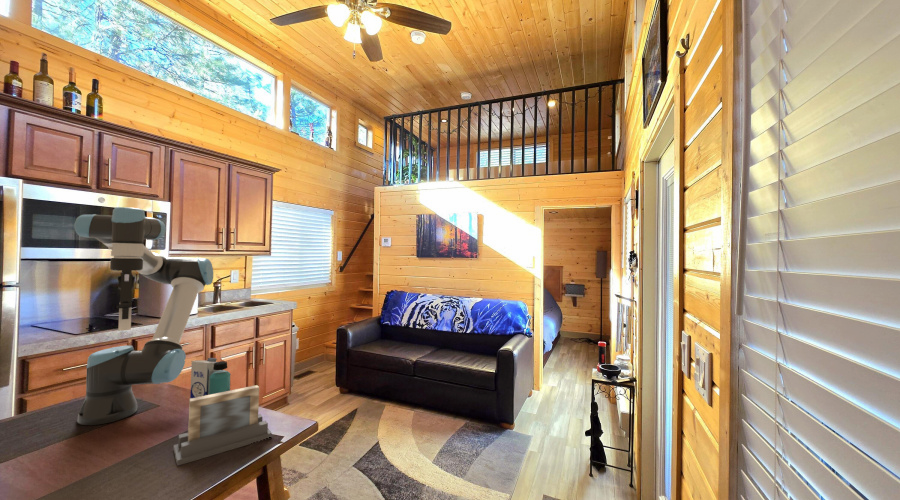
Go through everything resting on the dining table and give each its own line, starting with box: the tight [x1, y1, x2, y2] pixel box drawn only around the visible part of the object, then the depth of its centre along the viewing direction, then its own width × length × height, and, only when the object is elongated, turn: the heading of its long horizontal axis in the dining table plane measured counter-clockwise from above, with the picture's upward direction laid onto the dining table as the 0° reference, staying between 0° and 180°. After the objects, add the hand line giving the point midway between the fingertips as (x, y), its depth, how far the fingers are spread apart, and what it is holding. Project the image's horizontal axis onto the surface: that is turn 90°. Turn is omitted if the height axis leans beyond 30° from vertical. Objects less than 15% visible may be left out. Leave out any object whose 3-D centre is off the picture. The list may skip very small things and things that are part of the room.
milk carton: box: [189, 357, 221, 399], centre depth 128 cm, size 7×7×20 cm
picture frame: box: [187, 384, 260, 441], centre depth 110 cm, size 18×3×14 cm, turn 132°
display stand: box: [173, 413, 272, 467], centre depth 110 cm, size 24×10×4 cm, turn 132°
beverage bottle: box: [209, 360, 232, 395], centre depth 125 cm, size 6×7×20 cm
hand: (124, 326), depth 111 cm, fingers open, 13 cm apart
